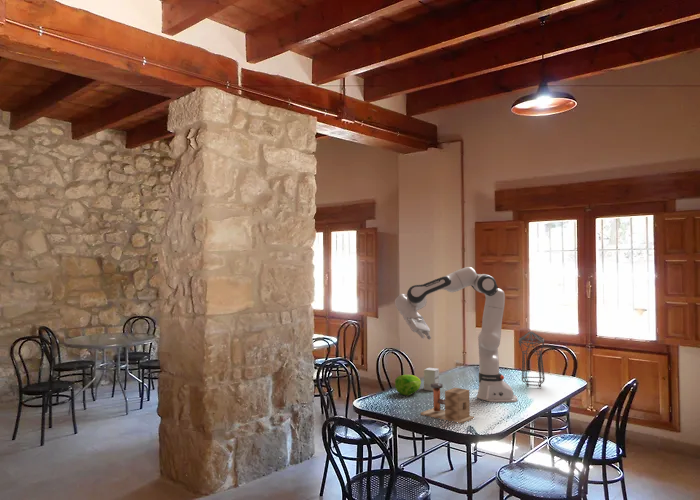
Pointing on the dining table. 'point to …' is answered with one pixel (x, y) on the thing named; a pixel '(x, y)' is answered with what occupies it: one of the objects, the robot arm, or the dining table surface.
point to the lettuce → (407, 384)
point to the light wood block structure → (453, 407)
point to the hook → (437, 396)
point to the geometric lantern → (537, 355)
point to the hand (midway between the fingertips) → (426, 338)
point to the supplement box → (430, 377)
